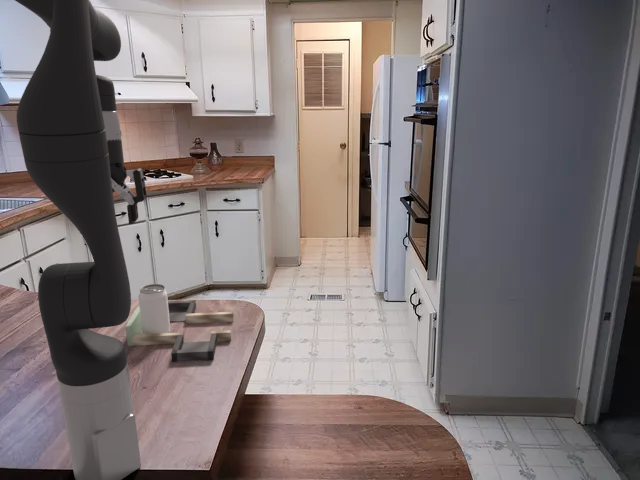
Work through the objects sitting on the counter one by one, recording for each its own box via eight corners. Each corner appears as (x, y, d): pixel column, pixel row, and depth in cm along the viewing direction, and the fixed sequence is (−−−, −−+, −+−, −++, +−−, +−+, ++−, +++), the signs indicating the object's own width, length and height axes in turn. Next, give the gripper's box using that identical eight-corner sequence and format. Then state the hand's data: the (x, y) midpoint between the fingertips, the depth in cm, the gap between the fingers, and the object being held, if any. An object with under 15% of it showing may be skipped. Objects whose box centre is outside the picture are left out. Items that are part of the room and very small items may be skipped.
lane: (235, 306, 127) (235, 298, 127) (228, 359, 101) (228, 350, 100) (147, 309, 124) (146, 302, 124) (116, 365, 98) (115, 356, 97)
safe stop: (144, 323, 117) (143, 305, 115) (133, 345, 106) (130, 326, 104) (140, 323, 117) (138, 305, 115) (127, 345, 106) (125, 326, 104)
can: (161, 341, 108) (157, 295, 104) (137, 338, 109) (131, 292, 106) (175, 329, 114) (171, 284, 110) (152, 326, 115) (147, 282, 112)
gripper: (47, 138, 78) (61, 229, 82) (134, 138, 80) (143, 228, 84) (65, 135, 85) (77, 219, 90) (144, 135, 87) (152, 218, 91)
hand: (109, 223), depth 87 cm, fingers open, 8 cm apart
